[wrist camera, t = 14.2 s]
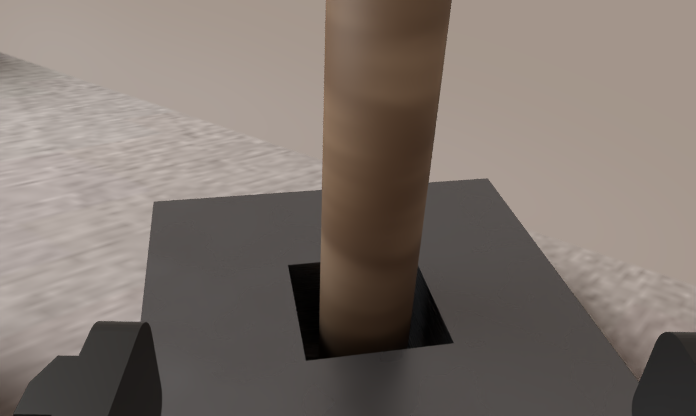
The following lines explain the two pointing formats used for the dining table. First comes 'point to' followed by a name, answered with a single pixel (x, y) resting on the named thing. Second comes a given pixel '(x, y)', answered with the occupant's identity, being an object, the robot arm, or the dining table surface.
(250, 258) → the grey square hole block
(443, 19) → the pin
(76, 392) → the robot arm
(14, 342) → the dining table surface
